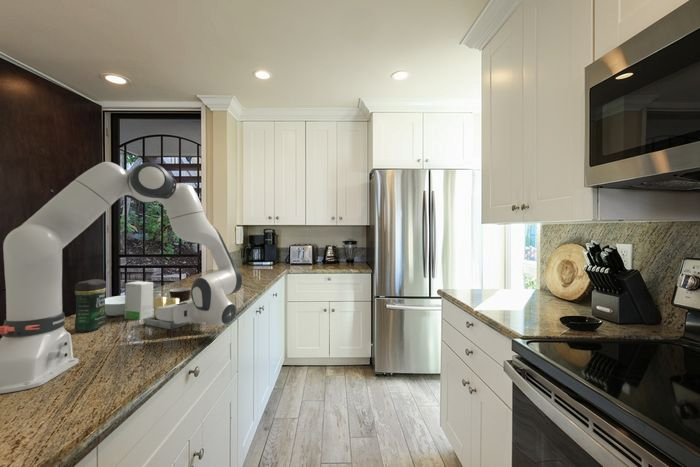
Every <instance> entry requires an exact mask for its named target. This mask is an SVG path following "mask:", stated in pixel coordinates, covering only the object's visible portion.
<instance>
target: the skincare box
mask: <svg viewBox="0 0 700 467" xmlns="http://www.w3.org/2000/svg"><path fill="white" fill-rule="evenodd" d="M124 290H125V291H124V292H125V294H124V295H125V315H124V319H128V320H145V319H147V318H151V317H154V282H151V281H141V280H138V281H137V280H136V281H132V282H126V283H125V289H124Z"/></svg>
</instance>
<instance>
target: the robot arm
mask: <svg viewBox="0 0 700 467" xmlns="http://www.w3.org/2000/svg"><path fill="white" fill-rule="evenodd" d="M122 197H126V198H128V199H131V200H134V201H135V202H138V203H141V204H154V203H157V202H158V203H160V204H161V205H162V206H163V208H165V211H166V213H167V218H168V220H169V223H170V226H171V230H172V232H173V233H174V234H175V236H176V237H177V238H179V239H181V240H182V241H185V242H188V243H195V244H200V245H203V246H204V247H206V248H207V249H208V250H209V251H210V254H211V255H212V259H213V260H214V262H215V264H216V266H217V270H216V271H215V270H214V271H213V272H210V273H207V274H204V275H202V276H200V277H197V278H195V279H194V280H193V282H192V284H191V288H190V289H191V291H190V299H189V300H187V301H182V302H181V303H176V304H172V305H168V306H160V307H158V308H157V309H156V318H157V319H160V320H164V321H171V322H172V321H174V324H182V323H188V322H189V323H194V324H195V323H198V324H206V325H210V326H226V325H229V324H230V323H232V321H233V320H234V318H235V317H236V314H237V306H236V304H234V302H231V301H230V300H229V299H228V297H227V296H229V295H232V294H235V293H237V292H239V291H240V289H241V288H242V285H243V276H242V274H241V271H240V270H239V269H238V268H237V265H236V264H235V263H234V260H233V258H232V255H231V254H230V251H229V250H228V247H227V246H226V243H225V241H224V239H223V237H222V235H221V233H220V232H219V230H218V229H217V227H216V226H215V227H214V226H213V225H212V224H211V223H210V221H209V220H208V218H207V216H206V214H205V210H204V208H203V205H202V203H201V200H200V198H199V196H198V194H197V192H196V190H195V188H194V187H193V186H192V185H191V184H188V183H184V182H183V183H181V182H178V183H177V180H176V179H175V178H174V177H173V176H171V174H170V173H169V172H168V171H167V170H166V169H165V168H164V167H162V165H160V164H158V163H155V162H154V163H153V162H143V163H140V164H138V165H137V166H135V167H134V168H132V170H127V169H124V168H123V167H122V166H120V165H119V164H117V163H114V162H111V161H103V162H100V163H98V164H96V165H94V166H93V167H91V168H90V169H88V170H86V171H84V172H83V173H82V174H80V175H79V176H77V177H76V178H75V179H74V180H73V181H71V182H70V183H69V184H68V185H67V186H65V187H64V188H62V190H61V191H60V192H58V193H57V194H56V195H55V196H52V198H51V199H49V200H48V202H47V203H45V204H44V205H43V206H42V207H41V208H40V209H38V210H37V211H36V212H35V213H34V214H33V215H32V216H31V217H29V218H28V219H27V220H26V221H24V222H23V223H22V224H21V225H19V226H18V227H16V228H14V229H12V230H11V231H9V233H7V235H6V237H5V238H4V240H3V244H2V248H3V250H2V251H3V264H4V265H3V266H4V267H3V268H4V281H5V282H4V283H5V300H6V301H5V304H6V305H5V306H6V310H5V311H6V314H5V316H6V319H5V320H4V321H3V322H4V323H3V325H0V335H1V336H2V337H1V338H0V394H7V393H14V392H20V391H24V390H28V389H33V388H37V387H39V386H43V385H44V384H46V383H47V382H49V381H51V380H53V379H55V377H57V376H59V375H61V374H62V373H64V372H66V371H67V370H69V369H71V368H72V367H74V366H76V365H77V364H79V363H80V360H79V358H78V357H74V354H73V342H72V335H71V333H70V332H68V331H67V330H66V329H65V327H64V326H65V324H66V322H65V320H66V316H65V312H64V311H63V249H64V248H65V247H66V246H68V245H69V243H71V242H72V241H74V239H76V238H77V237H78V236H79V235H81V233H83V232H84V231H85V230H86V229H88V227H90V226H91V225H92V224H93V223H94V222H95V221H96V220H98V219H99V217H100V216H102V214H104V213H105V212H106V211H107V210H108V209H109V208H110V207H111V206H113V204H115V202H116V201H118V200H119V199H120V198H122Z"/></svg>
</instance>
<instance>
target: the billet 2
mask: <svg viewBox="0 0 700 467" xmlns="http://www.w3.org/2000/svg"><path fill="white" fill-rule="evenodd" d="M176 303H180V298H170V297H169V298H167V299H166V306H168V305H172V304H176ZM167 322H169V323H173V322H174V321H172V322H171V321H167Z"/></svg>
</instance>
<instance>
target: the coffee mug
mask: <svg viewBox="0 0 700 467" xmlns="http://www.w3.org/2000/svg"><path fill="white" fill-rule="evenodd" d="M169 298H180V303H181V302H182V301H187V300H190V299H191V288H190V287H181V288H180V287H179V288H178V287H177V288H172V289H170V290H169Z"/></svg>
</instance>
